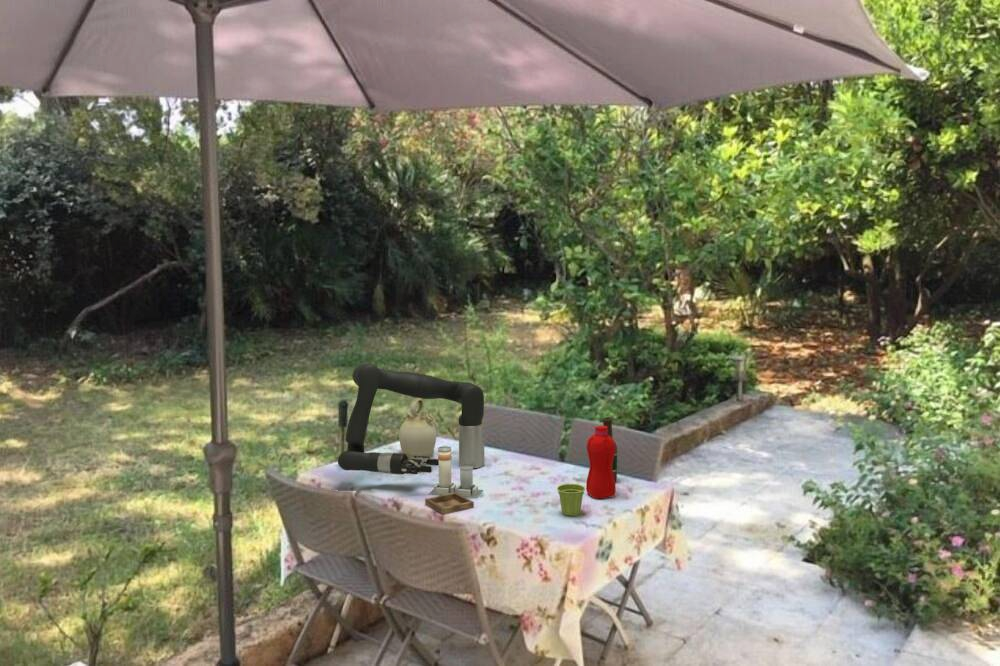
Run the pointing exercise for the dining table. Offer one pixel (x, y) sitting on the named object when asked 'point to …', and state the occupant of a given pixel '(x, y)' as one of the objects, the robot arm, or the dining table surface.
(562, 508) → the plant pot
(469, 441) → the robot arm
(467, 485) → the fuse
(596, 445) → the water bottle
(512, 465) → the dining table surface
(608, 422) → the beer bottle
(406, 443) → the jug
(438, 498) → the tray
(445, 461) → the cylinder
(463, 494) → the clip block
